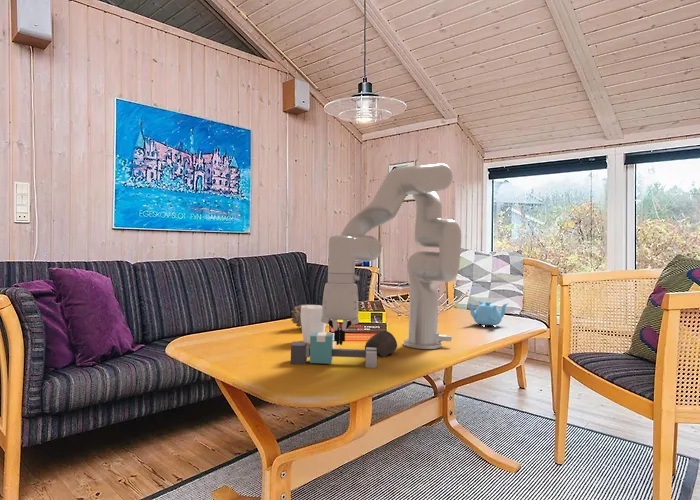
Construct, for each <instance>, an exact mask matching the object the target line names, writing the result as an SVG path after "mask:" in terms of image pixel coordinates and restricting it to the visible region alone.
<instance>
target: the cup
mask: <svg viewBox="0 0 700 500" xmlns="http://www.w3.org/2000/svg"><path fill="white" fill-rule="evenodd" d="M303 305H304V306H301V314H300V317H301V326H302V328H301V333H302V342H307V345H310V336H311V334H312V333H319V332H324V333H325V329H326V325H327V324H326V323H323V322H321V319H322V305H323V304H322V305H321V304H309V305H305V304H303ZM301 326H300V327H301Z"/></svg>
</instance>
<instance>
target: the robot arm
mask: <svg viewBox="0 0 700 500" xmlns="http://www.w3.org/2000/svg"><path fill="white" fill-rule="evenodd" d="M452 181H453V172H452V168H451V167H449V166H448V164H445V163H442V162H440V163H432V164H424V165H423V164H422V165H411V166H402V167H397V168H393V169H391V170H390V171H388V173H387V174H386V176H385V177H384V179H383V180H382V183H381V185H380V187H379V188H378V190H377V191H376V193H375V195H374V196H373V198H372V200H371V202H370V203H369V204H368V205H366V206H365V207H364V208H362V209H361V210H360V211H359V212H358V213H357V214H355V215H354V216H353V217H352V218H351V219H350V220H349V221H348V222H347V224H346V225H345V227H344V228H343V230H342V232H341V234H340V235H339V234H338V235H331V236H330V237H329V239H328V255H327V256H328V258H327V259H328V260H327V261H328V262H327V265H328V266H327V269H328V270H327V282H326V283H325V285H324V289H323V294H322V295H323V296H322V319H321V322H323V323H326V325H329V326H330V327H331V328H332V329H333V342H335V343H336V344H335V345H338V346H339V345H340V346H342V345H343V342H346V330H347V329H348V328H349V327H350V326H353V325H356V324H359V323H360V320H359V289H358V284H356V283H355V282H356V281H360V275H357V274H355V273H356V272H355V271H356V270H355V265H356V261H357V262H372V261H373V262H374V261H375V260H377V259H378V258H379V256H380V255H381V253H382V243H381V242H380V241H379V239H378V238H377V237H375V236H372V235H367V233H369V232H371V231H372V230H373V229H375V228H377V227H379V226H382V225H384V224H386V223H388V222H390V221H392V220H393V219H395V217H396V215H397V214H398V212H399V210H400V208H401V206H402V204H403V203H404V201H405V200H406V197H407V196H408V195H412V197H413V198H414V202H415V204H416V205H415V206H416V207H415V208H416V210H415V211H416V212H415V213H416V214H415V224H414V225H415V226H414V241H415V243H416V244H417V246H419V247H421V248H429V249H431V248H432V249H439V250H438V251H426V250H425V251H424V250H423V251H417V252H414V253H412V254H411V255H409V258H408V259H407V265H406V266H407V273H408V274H407V275H408V280H409V306H408V307H409V308H408V309H409V311H408V312H409V313H408V318H409V319H408V338H406V339H404V340H403V346H405V347H408V348H411V349H418V350H436V349H439V348H441V347H443V346H442V344H443V343H442V342H452V335H447V334H440V333H439V331H438V317H439V291H438V287H437V285H436V283H435V282H440V283H441V282H443V283H450V282H453V281H454V280H455V279H456V278H457V276H458V274H459V269H460V261H461V250H462V249H461V248H462V246H461V245H462V231H461V228H460V225H459V223H458V222H457V221H456V220H453V219H450V218H443V217H442V215H443V213H442V212H443V205H442V204H443V203H442V200H441V198H440V196H439V195H438V194H437V192H439V191H444V190H446V189H448V188H449V187H450V186H451V184H452V183H453V182H452ZM338 321H342V325H341V327H339V323H338Z"/></svg>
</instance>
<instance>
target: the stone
mask: <svg viewBox="0 0 700 500" xmlns="http://www.w3.org/2000/svg"><path fill="white" fill-rule="evenodd" d="M366 347H371V348H376V349H377V355H379V356H380V357H381V358H384V357H386V356H388V355H392V354H394V353H395V352H396V350H397V348H398V342H397V340H396V337H395V336H394V334H392V333H391V332H389V331H388V330H381V331H379V332H377V333H375V334H373V335H372V336H371V337H370V338H369V339H368V340H367V341H366V343H365V345H364V350H366Z"/></svg>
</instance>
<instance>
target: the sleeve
mask: <svg viewBox="0 0 700 500" xmlns="http://www.w3.org/2000/svg"><path fill="white" fill-rule="evenodd" d="M309 346H310V356H309V364H330V365H331V364H332V362H333V358H334V357H333V356H332V349H334V332H333V333H332V332H325V331H324V332H319V333H312V334H311V336H310V344H309Z"/></svg>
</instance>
